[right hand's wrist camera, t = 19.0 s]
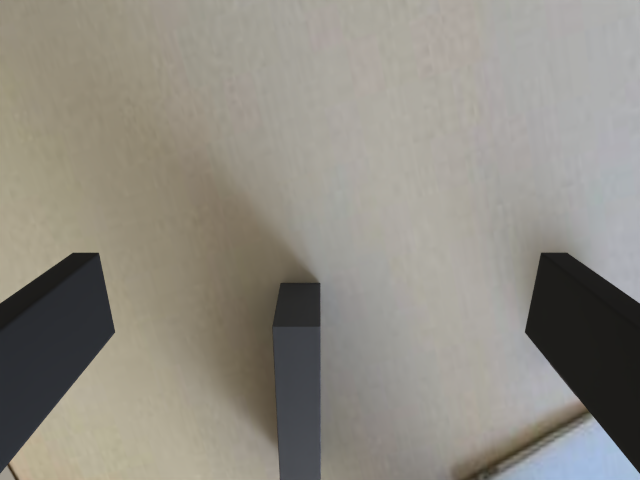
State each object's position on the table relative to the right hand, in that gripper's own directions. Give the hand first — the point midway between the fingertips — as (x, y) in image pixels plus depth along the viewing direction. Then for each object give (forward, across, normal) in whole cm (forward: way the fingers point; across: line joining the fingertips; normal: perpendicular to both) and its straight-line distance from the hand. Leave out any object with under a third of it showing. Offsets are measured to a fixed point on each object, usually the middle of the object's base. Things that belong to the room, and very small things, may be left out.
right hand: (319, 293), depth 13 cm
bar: (+27, -2, -25) cm, 37 cm away
